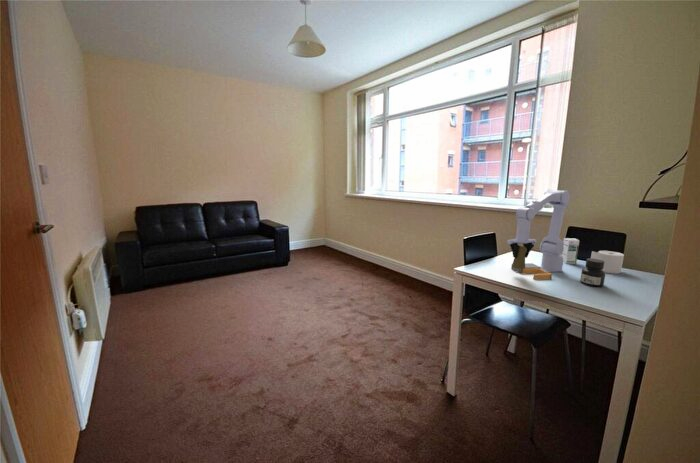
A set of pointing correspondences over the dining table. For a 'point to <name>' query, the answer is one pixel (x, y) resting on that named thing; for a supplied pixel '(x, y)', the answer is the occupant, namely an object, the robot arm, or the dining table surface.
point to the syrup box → (570, 250)
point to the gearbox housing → (534, 271)
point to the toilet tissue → (609, 260)
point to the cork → (520, 258)
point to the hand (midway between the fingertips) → (520, 257)
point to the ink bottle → (593, 273)
